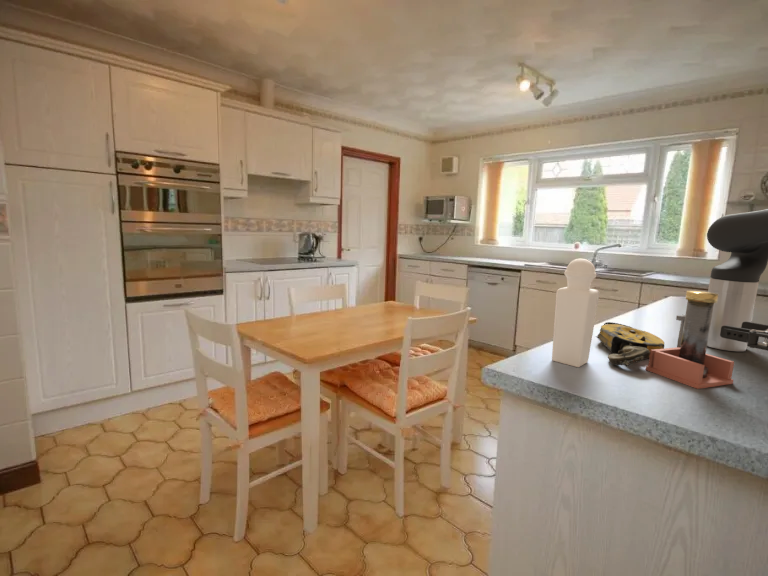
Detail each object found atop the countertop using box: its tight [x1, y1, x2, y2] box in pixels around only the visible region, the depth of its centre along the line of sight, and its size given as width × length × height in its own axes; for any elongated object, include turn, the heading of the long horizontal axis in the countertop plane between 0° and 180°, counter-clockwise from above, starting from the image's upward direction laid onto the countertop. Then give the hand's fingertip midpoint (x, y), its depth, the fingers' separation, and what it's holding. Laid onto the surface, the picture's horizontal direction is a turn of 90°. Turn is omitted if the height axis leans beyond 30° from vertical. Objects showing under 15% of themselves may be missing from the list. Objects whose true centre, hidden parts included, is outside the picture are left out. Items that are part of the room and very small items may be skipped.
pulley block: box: [595, 321, 665, 367], centre depth 92 cm, size 14×6×30 cm
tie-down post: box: [679, 290, 718, 378], centre depth 78 cm, size 6×6×16 cm
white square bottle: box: [551, 257, 600, 368], centre depth 83 cm, size 6×6×22 cm
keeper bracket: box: [645, 314, 735, 390], centre depth 79 cm, size 11×11×11 cm
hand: (732, 328), depth 72 cm, fingers open, 8 cm apart
